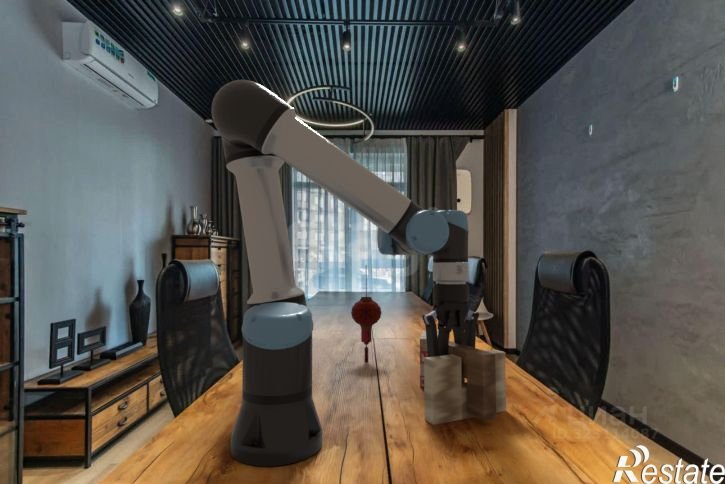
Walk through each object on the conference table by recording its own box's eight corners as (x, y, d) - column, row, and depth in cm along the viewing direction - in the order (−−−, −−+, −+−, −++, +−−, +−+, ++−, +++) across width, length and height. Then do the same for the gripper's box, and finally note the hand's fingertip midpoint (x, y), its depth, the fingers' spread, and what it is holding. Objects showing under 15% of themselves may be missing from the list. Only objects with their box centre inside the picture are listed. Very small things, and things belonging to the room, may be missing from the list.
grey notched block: (433, 424, 81) (432, 360, 81) (424, 419, 83) (424, 357, 84) (506, 410, 88) (505, 352, 89) (496, 406, 91) (495, 349, 91)
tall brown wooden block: (483, 420, 79) (482, 355, 79) (439, 398, 92) (439, 342, 92) (496, 418, 80) (495, 353, 81) (451, 396, 93) (450, 341, 93)
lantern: (352, 358, 137) (352, 264, 138) (381, 358, 136) (381, 264, 138) (350, 365, 127) (349, 265, 129) (381, 365, 127) (381, 264, 128)
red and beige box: (424, 367, 126) (423, 325, 126) (445, 367, 124) (445, 325, 125) (420, 388, 105) (419, 337, 105) (445, 389, 103) (445, 338, 104)
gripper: (428, 284, 84) (430, 404, 83) (492, 282, 91) (494, 393, 90) (409, 282, 91) (410, 393, 90) (469, 281, 98) (471, 384, 97)
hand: (452, 393), depth 90 cm, fingers closed on tall brown wooden block, 3 cm apart
